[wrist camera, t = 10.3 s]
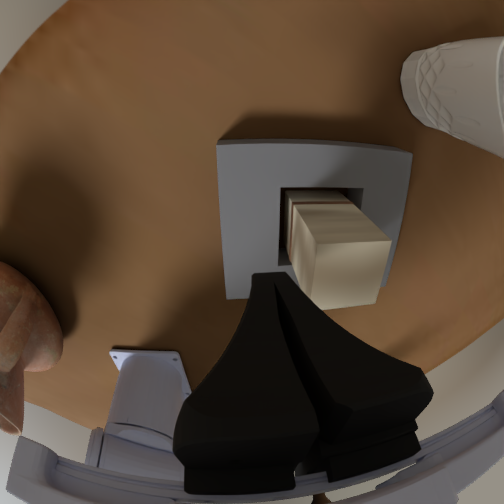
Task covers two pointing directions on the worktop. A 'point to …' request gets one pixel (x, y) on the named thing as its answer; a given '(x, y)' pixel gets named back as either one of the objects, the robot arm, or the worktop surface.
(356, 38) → the worktop surface
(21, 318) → the ceramic jug
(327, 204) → the peg
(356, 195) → the socket board
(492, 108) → the white cup
